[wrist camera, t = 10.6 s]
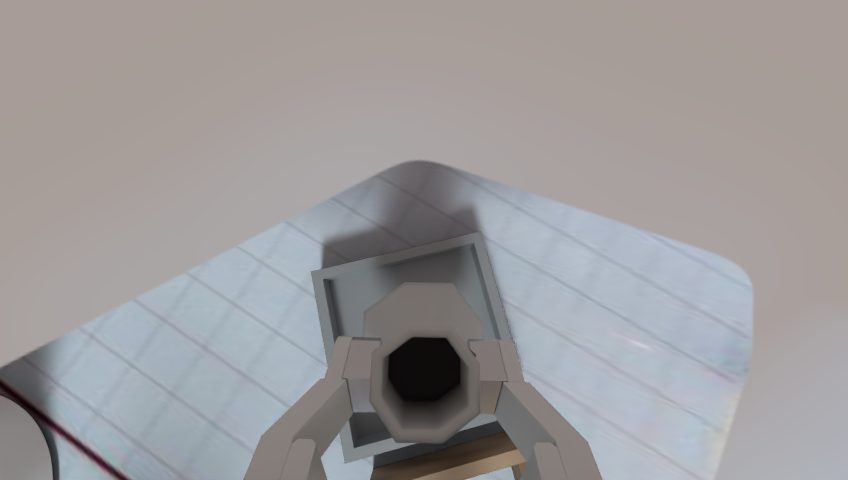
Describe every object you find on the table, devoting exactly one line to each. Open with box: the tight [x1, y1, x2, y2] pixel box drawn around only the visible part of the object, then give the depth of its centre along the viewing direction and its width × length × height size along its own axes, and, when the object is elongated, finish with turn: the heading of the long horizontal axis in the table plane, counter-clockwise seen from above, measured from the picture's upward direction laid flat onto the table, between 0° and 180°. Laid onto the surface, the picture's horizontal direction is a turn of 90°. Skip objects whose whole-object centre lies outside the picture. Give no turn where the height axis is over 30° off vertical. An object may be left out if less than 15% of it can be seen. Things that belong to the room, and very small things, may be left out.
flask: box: [362, 282, 483, 444], centre depth 14 cm, size 7×7×10 cm
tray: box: [311, 231, 512, 463], centre depth 23 cm, size 12×12×2 cm
